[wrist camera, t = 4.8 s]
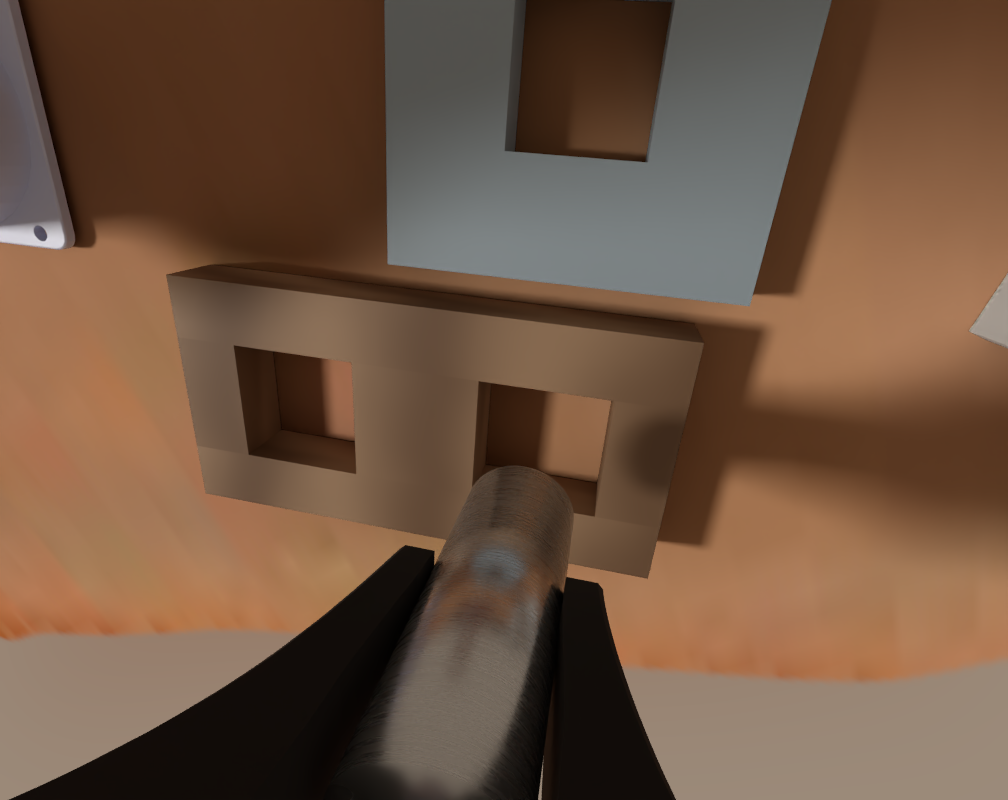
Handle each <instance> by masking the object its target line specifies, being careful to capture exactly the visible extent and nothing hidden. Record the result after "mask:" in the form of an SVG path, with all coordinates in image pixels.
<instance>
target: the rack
mask: <svg viewBox="0 0 1008 800" xmlns="http://www.w3.org/2000/svg"><path fill="white" fill-rule="evenodd" d="M166 276H167V281H168V287H169V293H170V298H171V304H172V309H173V315H174V320H175V326H176V331H177V337H178V342H179V348H180V354H181V359H182V365H183V370H184V376H185V381H186V387H187V392H188V398H189V403H190V409H191V414H192V420H193V426H194V431H195V437H196V442H197V448H198V453H199V459H200V464H201V470H202V475H203V481H204V487H205V492H206V493H207V494H212V495H217V496H223V497H228V498H233V499H238V500H243V501H249V502H254V503H259V504H264V505H269V506H274V507H280V508H285V509H290V510H295V511H300V512H305V513H311V514H316V515H321V516H326V517H331V518H337V519H342V520H347V521H352V522H357V523H362V524H368V525H373V526H378V527H383V528H388V529H394V530H399V531H404V532H409V533H414V534H419V535H425V536H430V537H435V538H440V539H445V540H447V538H448V536H449V534H450V532H451V530H452V528H453V526H454V524H455V522H456V520H457V518H458V516H459V514H460V511H461V509H462V507H463V505H464V503H465V501H466V499H467V497H468V495H469V493H470V491H471V489H472V487H473V485H474V484H475V482H476V481H477V480H478V479H479V478H480V477H482V476H483V475H484V474H486V473H487V472H489V471H491V470H494V469H496V468H500V467H498V466H492V465H486V464H485V463H486V449H487V435H488V421H489V407H490V393H491V383H495V384H502V385H508V386H515V387H522V388H529V389H536V390H543V391H550V392H556V393H563V394H570V395H577V396H584V397H591V398H597V399H604V400H611V406H610V412H609V418H608V424H607V429H606V435H605V441H604V447H603V452H602V458H601V464H600V470H599V475H598V481H597V483H592V482H586V481H581V480H575V479H569V478H563V477H557V476H551V475H548V476H550V477H551V478H553V479H554V480H555V481H556V482H557V483H558V484H559V485H560V486H561V487H562V488H563V489H564V491H565V492H566V493H567V495H568V497H569V499H570V501H571V504H572V507H573V512H574V523H573V531H572V538H571V546H570V554H569V562H568V563H570V564H575V565H580V566H585V567H590V568H596V569H601V570H606V571H611V572H616V573H621V574H627V575H632V576H637V577H642V578H647V579H648V575H649V571H650V567H651V563H652V559H653V555H654V550H655V546H656V542H657V538H658V534H659V530H660V525H661V521H662V517H663V513H664V509H665V505H666V500H667V496H668V492H669V488H670V484H671V480H672V475H673V471H674V467H675V463H676V459H677V455H678V450H679V446H680V442H681V438H682V434H683V430H684V425H685V421H686V417H687V413H688V409H689V405H690V400H691V396H692V392H693V388H694V384H695V379H696V375H697V371H698V367H699V363H700V359H701V354H702V350H703V346H704V342H703V340H702V338H701V336H700V334H699V332H698V330H697V328H696V326H695V324H693V323H685V322H676V321H668V320H660V319H652V318H644V317H636V316H627V315H619V314H611V313H603V312H595V311H587V310H578V309H570V308H562V307H554V306H546V305H538V304H529V303H521V302H513V301H505V300H497V299H489V298H480V297H472V296H464V295H456V294H448V293H440V292H431V291H423V290H415V289H407V288H399V287H391V286H382V285H374V284H366V283H358V282H350V281H342V280H333V279H325V278H317V277H309V276H301V275H293V274H284V273H276V272H268V271H260V270H252V269H244V268H235V267H227V266H219V265H207V266H203V267H198V268H194V269H189V270H185V271H180V272H176V273H172V274H167V275H166ZM273 351H276V352H283V353H290V354H297V355H303V356H310V357H317V358H324V359H331V360H338V361H344V362H351V363H352V383H353V406H354V430H355V442H351V441H345V440H339V439H333V438H327V437H321V436H315V435H309V434H303V433H297V432H292V431H286V430H281V422H280V412H279V403H278V393H277V384H276V374H275V365H274V355H273Z"/></svg>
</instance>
